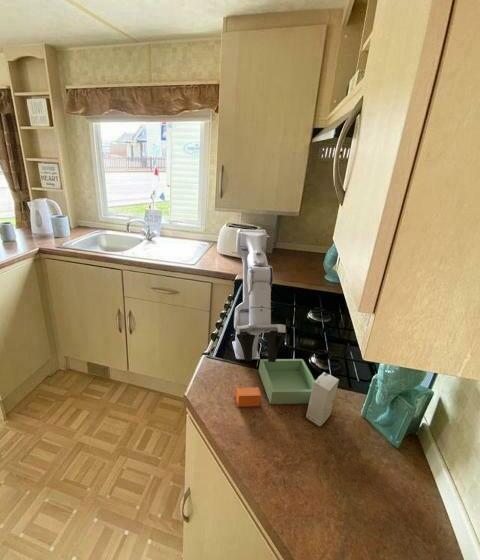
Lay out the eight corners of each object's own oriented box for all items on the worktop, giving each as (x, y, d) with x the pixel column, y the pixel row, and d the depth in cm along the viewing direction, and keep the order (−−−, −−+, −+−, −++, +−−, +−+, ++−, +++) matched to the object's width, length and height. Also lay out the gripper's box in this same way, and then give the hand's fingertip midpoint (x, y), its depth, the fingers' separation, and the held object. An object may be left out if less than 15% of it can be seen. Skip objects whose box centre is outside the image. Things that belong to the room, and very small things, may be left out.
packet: (235, 398, 89) (237, 387, 87) (256, 398, 89) (258, 387, 87) (237, 406, 86) (239, 395, 84) (259, 406, 86) (261, 395, 85)
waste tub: (258, 370, 99) (260, 359, 97) (300, 370, 100) (302, 358, 98) (270, 404, 87) (272, 391, 85) (317, 403, 88) (321, 391, 86)
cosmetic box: (320, 427, 80) (330, 392, 75) (304, 417, 83) (312, 382, 78) (331, 414, 84) (341, 379, 79) (315, 404, 87) (324, 370, 82)
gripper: (229, 309, 87) (228, 359, 84) (273, 304, 77) (274, 362, 73) (246, 312, 92) (245, 360, 88) (289, 308, 81) (290, 363, 78)
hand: (259, 361), depth 81 cm, fingers open, 7 cm apart
